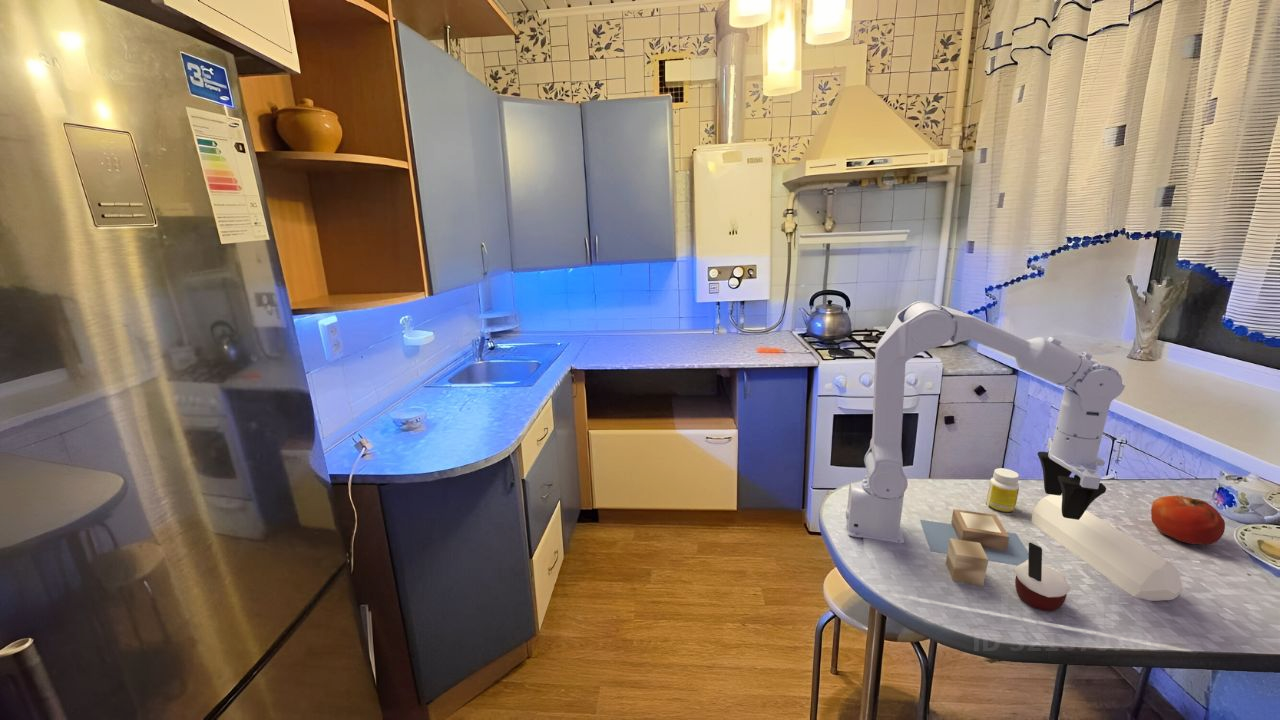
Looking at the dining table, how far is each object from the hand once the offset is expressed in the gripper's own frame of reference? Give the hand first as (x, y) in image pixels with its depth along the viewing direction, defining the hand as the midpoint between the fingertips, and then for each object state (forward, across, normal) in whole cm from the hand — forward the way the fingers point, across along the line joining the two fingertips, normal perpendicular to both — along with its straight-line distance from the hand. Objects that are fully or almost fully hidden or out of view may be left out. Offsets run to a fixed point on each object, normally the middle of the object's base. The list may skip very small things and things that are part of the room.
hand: (1061, 505), depth 84 cm
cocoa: (+10, -14, +6) cm, 18 cm away
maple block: (+10, -11, +15) cm, 21 cm away
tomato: (+10, +14, -24) cm, 30 cm away
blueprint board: (+10, -1, +12) cm, 15 cm away
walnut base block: (+10, +2, +10) cm, 14 cm away
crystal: (+10, +2, -7) cm, 13 cm away
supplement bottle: (+10, +14, +4) cm, 18 cm away
